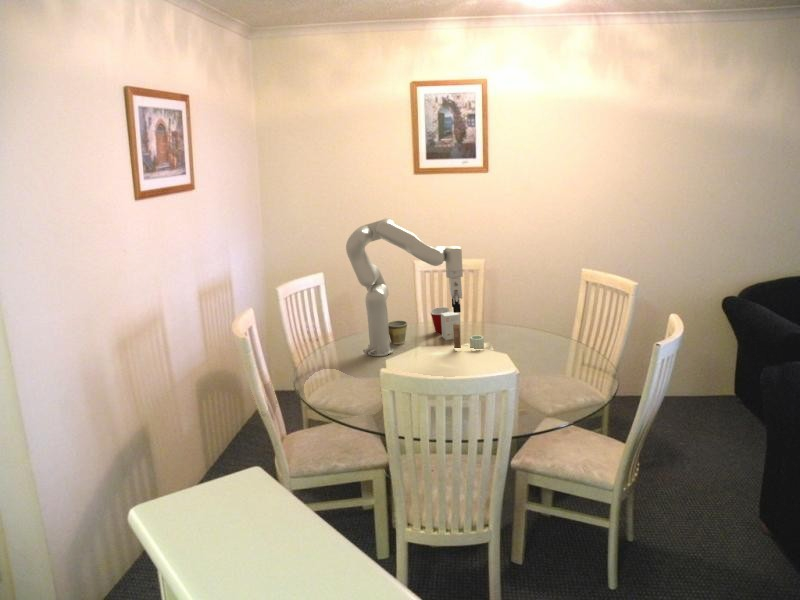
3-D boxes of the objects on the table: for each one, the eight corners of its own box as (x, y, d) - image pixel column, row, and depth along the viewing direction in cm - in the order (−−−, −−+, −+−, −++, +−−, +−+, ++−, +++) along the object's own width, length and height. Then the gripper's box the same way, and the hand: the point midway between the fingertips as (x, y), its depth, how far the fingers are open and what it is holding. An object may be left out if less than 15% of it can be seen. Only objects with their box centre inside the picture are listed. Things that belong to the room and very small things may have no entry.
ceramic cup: (406, 345, 315) (404, 326, 313) (386, 345, 317) (384, 326, 315) (410, 337, 327) (409, 318, 325) (391, 337, 329) (390, 318, 327)
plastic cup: (426, 333, 334) (424, 310, 331) (440, 328, 341) (439, 306, 338) (441, 336, 326) (440, 313, 323) (455, 331, 333) (455, 309, 330)
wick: (458, 350, 302) (457, 325, 299) (452, 349, 304) (451, 324, 301) (461, 348, 304) (460, 323, 301) (456, 347, 306) (455, 322, 303)
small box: (457, 336, 326) (456, 311, 323) (461, 339, 320) (460, 314, 317) (441, 338, 324) (440, 313, 321) (445, 341, 318) (444, 316, 315)
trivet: (454, 354, 299) (454, 352, 299) (452, 345, 311) (452, 344, 311) (493, 351, 299) (493, 350, 299) (490, 343, 310) (490, 342, 310)
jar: (479, 350, 299) (478, 340, 298) (467, 348, 303) (466, 338, 302) (486, 346, 304) (486, 336, 303) (475, 344, 308) (474, 334, 307)
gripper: (464, 276, 287) (466, 314, 291) (461, 269, 303) (462, 304, 307) (447, 278, 287) (449, 315, 291) (445, 270, 303) (446, 305, 308)
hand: (456, 309), depth 299 cm, fingers open, 9 cm apart
